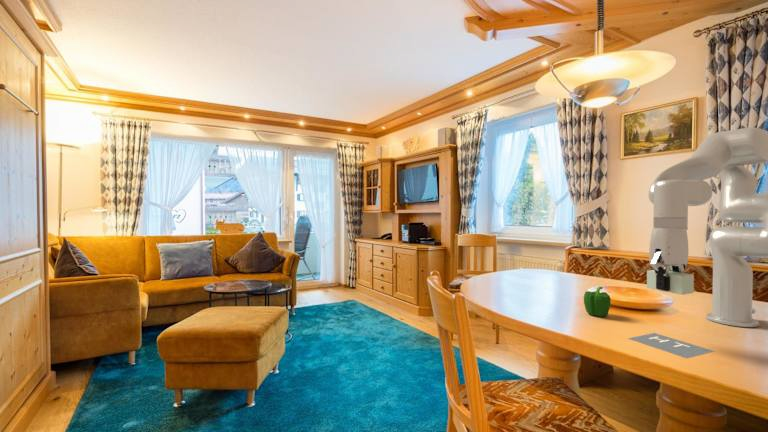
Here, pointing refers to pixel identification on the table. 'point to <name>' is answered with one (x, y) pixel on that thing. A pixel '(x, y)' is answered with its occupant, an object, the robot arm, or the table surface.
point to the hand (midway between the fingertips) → (669, 288)
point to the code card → (671, 345)
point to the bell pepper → (597, 303)
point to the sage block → (674, 282)
